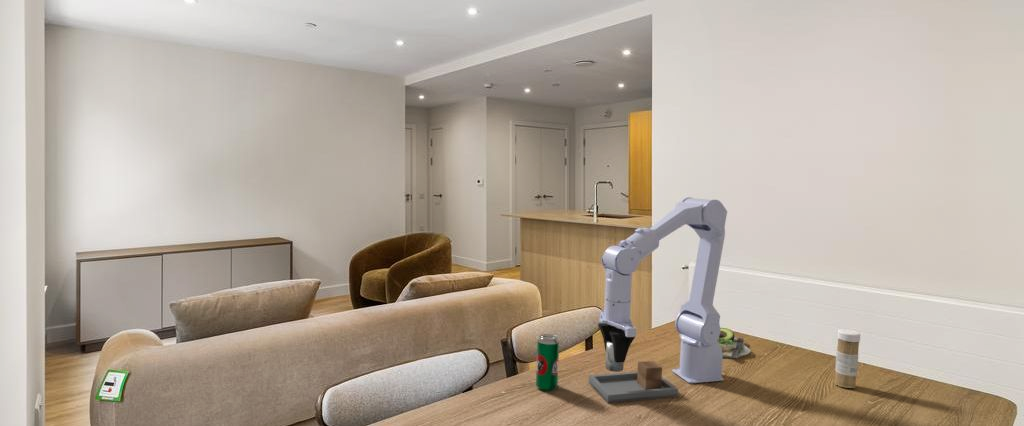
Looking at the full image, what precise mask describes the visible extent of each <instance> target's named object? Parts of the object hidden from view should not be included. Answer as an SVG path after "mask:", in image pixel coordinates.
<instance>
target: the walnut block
mask: <svg viewBox="0 0 1024 426" xmlns="http://www.w3.org/2000/svg"><path fill="white" fill-rule="evenodd" d="M637 372H638V373H637V383H638V384H639V385H640V386H641V387H643V388H644V389H645V390H649V389H660V388H661V381H662V377H663V366H661V365H659V364H658V363H657V362H656V361H654V360H650V361H649V360H647V361H638V362H637Z"/></svg>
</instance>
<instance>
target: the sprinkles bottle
mask: <svg viewBox="0 0 1024 426" xmlns="http://www.w3.org/2000/svg"><path fill="white" fill-rule="evenodd" d="M836 338H837V347H836V357H835V366H834V367H835V369H834V371H835V373H834V375H835V376H834V380H833V383H834V384H835V386H837V385H838V386H837V387H839V386H842V387H846V388H854V389H856V388H857V385H856V383H857V374H858V364H859V363H858V362H859V345H860V342H861V333H860V332H858V331H856V330H852V329H846V328H841V329H838V330H837V337H836ZM855 387H856V388H855Z"/></svg>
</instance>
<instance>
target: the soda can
mask: <svg viewBox="0 0 1024 426" xmlns="http://www.w3.org/2000/svg"><path fill="white" fill-rule="evenodd" d="M559 355H560V341H559V338H558V336H557V335H556V334H552V333H542V334H539V336H538V339H537V341H536V366H535V368H536V373H535V386H536V387H537V389H538V390H540V391H543V392H544V391H545V392H551V391H555V390H556V389H557V388H558V386H559V385H558V384H559V364H560V363H559V360H560V358H559V357H560V356H559Z"/></svg>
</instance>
